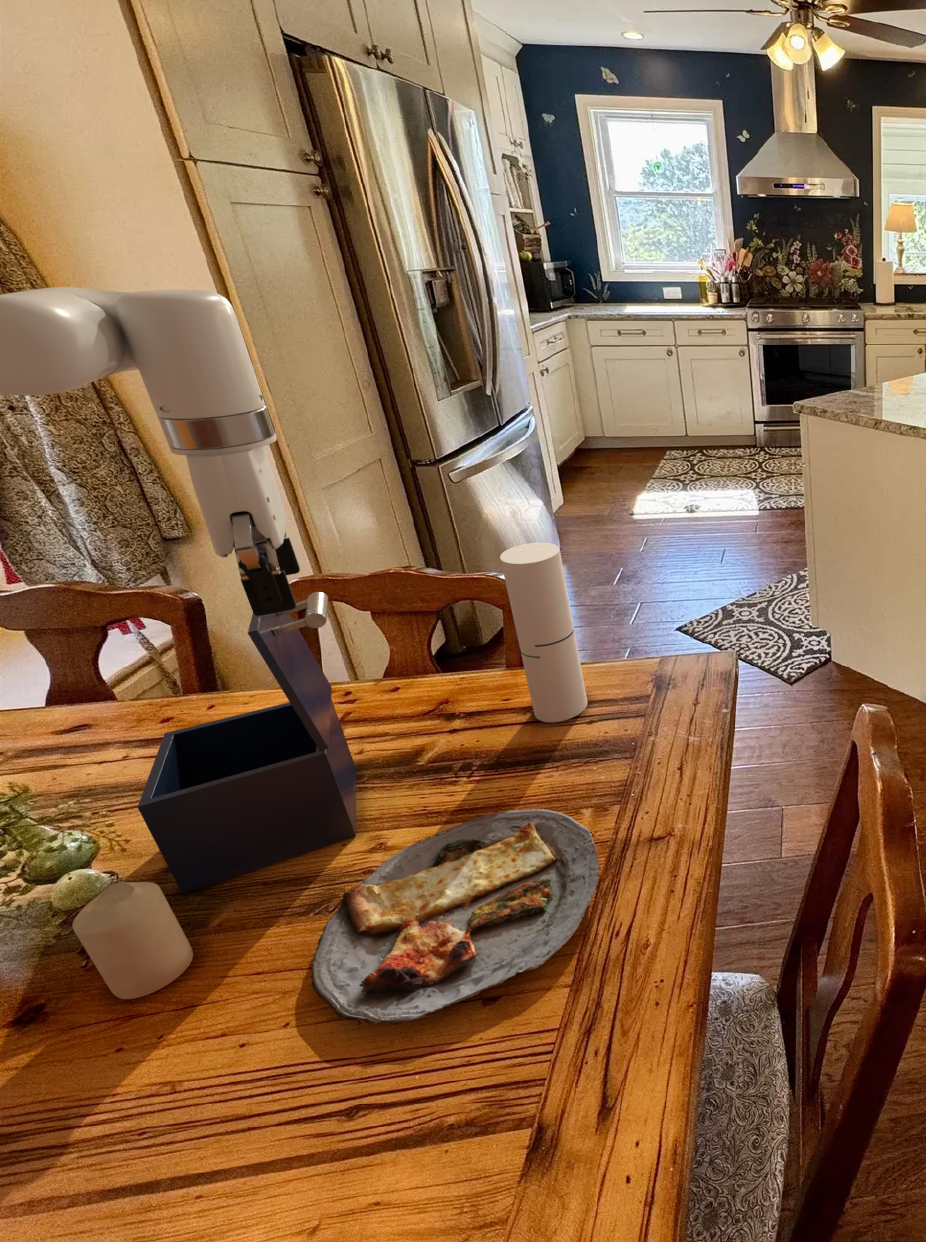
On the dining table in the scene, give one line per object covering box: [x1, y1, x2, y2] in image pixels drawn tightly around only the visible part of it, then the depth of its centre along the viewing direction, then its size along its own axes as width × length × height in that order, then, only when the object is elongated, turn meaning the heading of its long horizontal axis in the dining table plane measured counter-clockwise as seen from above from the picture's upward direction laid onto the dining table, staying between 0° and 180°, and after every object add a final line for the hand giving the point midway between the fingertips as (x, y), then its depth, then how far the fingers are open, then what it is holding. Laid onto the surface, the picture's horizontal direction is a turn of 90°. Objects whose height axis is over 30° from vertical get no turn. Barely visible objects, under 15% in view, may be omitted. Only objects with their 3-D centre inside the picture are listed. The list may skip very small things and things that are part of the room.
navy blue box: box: [137, 698, 357, 895], centre depth 83 cm, size 15×14×12 cm
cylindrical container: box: [499, 541, 588, 723], centre depth 103 cm, size 7×7×25 cm
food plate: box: [310, 808, 601, 1026], centre depth 75 cm, size 25×23×4 cm
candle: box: [72, 881, 194, 1000], centre depth 67 cm, size 6×6×10 cm
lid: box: [247, 591, 333, 751], centre depth 82 cm, size 16×14×5 cm
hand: (279, 592), depth 75 cm, fingers open, 9 cm apart
